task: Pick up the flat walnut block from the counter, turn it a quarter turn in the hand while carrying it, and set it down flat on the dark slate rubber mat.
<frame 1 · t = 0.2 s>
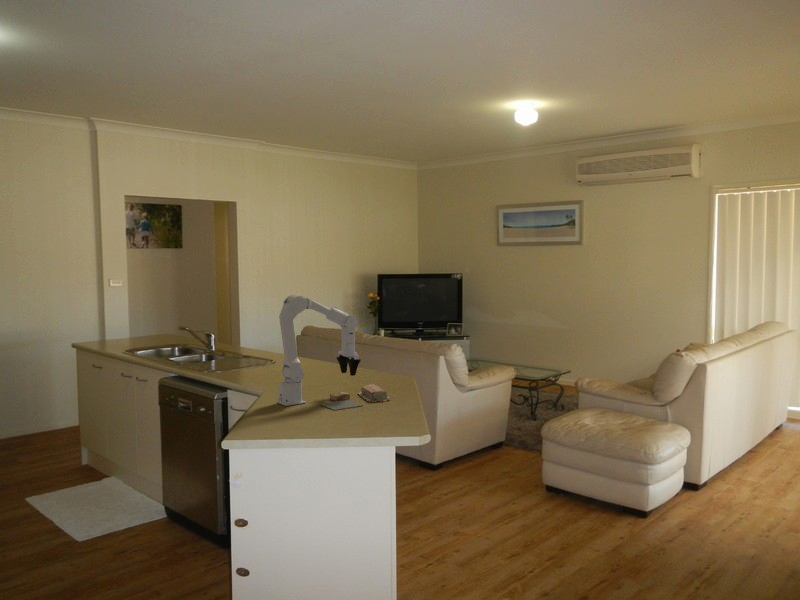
hand: (348, 374, 280), 9 cm above the counter, tool pointing down, fingers open, 7 cm apart
slate mat: (341, 405, 262), on the counter
walnut block: (339, 400, 274), on the counter
packaged product: (373, 398, 278), on the counter
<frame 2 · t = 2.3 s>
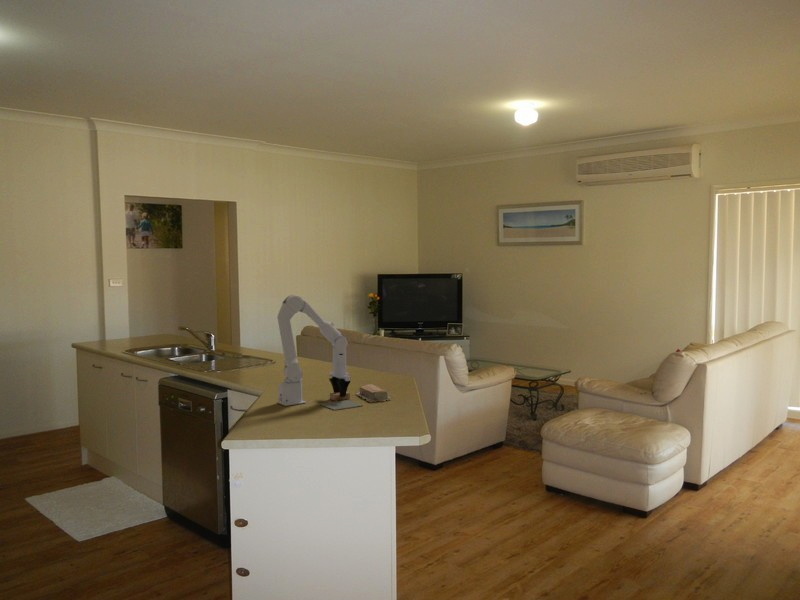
hand: (339, 395, 274), 2 cm above the counter, tool pointing down, fingers closed on walnut block, 4 cm apart
walnut block: (339, 399, 274), on the counter, touching gripper
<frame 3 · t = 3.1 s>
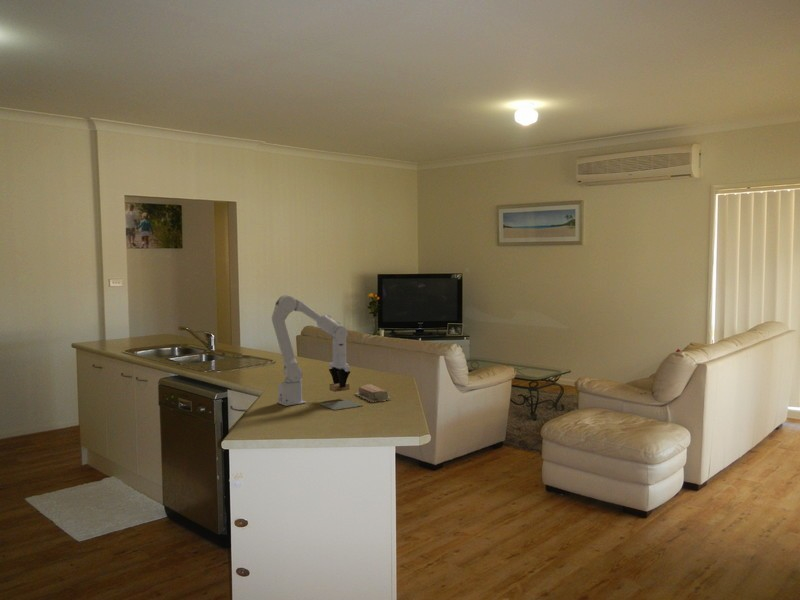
hand: (339, 386, 274), 5 cm above the counter, tool pointing down, fingers closed on walnut block, 4 cm apart
walnut block: (339, 389, 274), point 4 cm above the counter, touching gripper
everything else where it was.
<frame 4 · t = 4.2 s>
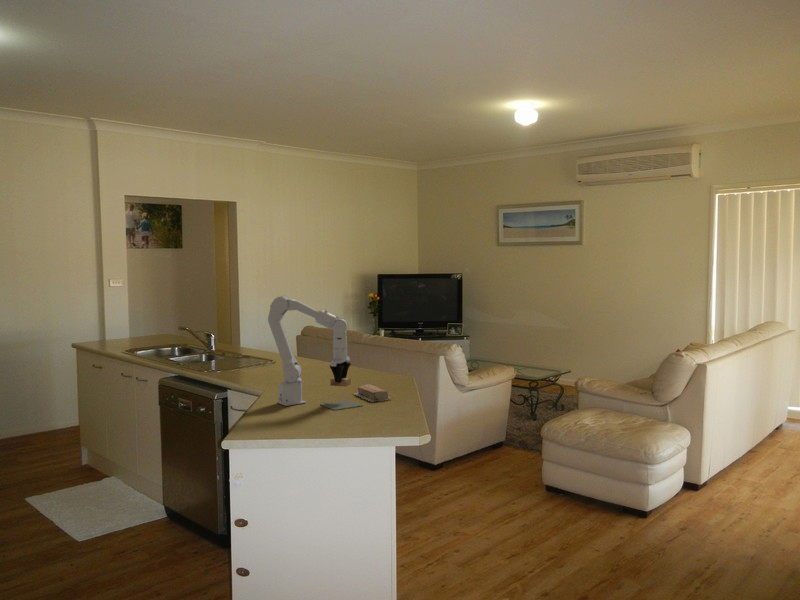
hand: (340, 381, 267), 9 cm above the counter, tool pointing down, fingers closed on walnut block, 4 cm apart
walnut block: (340, 384, 267), point 7 cm above the counter, touching gripper
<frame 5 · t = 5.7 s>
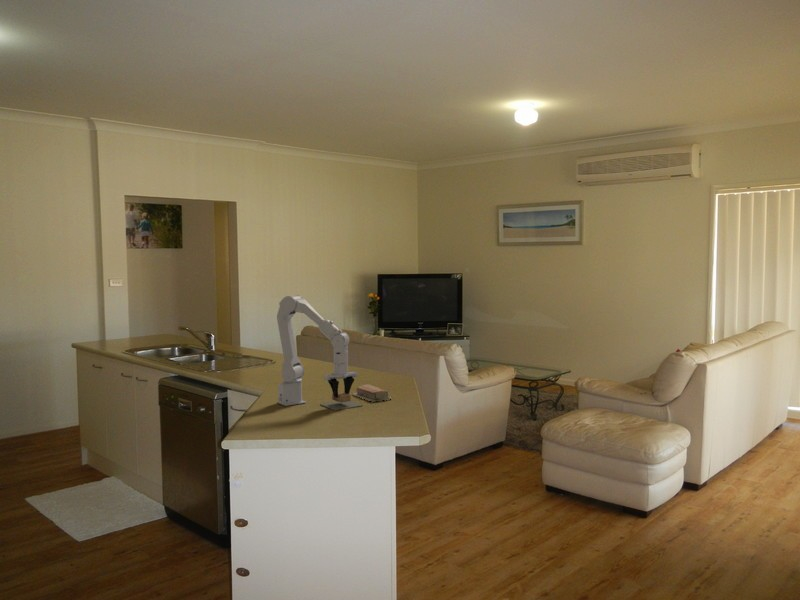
hand: (341, 396, 262), 4 cm above the counter, tool pointing down, fingers closed on walnut block, 4 cm apart
walnut block: (341, 400, 262), point 2 cm above the counter, touching gripper
when the fingers open (3 cm above the counter, at t = 6.6 s): walnut block drops 1 cm, resting on slate mat.
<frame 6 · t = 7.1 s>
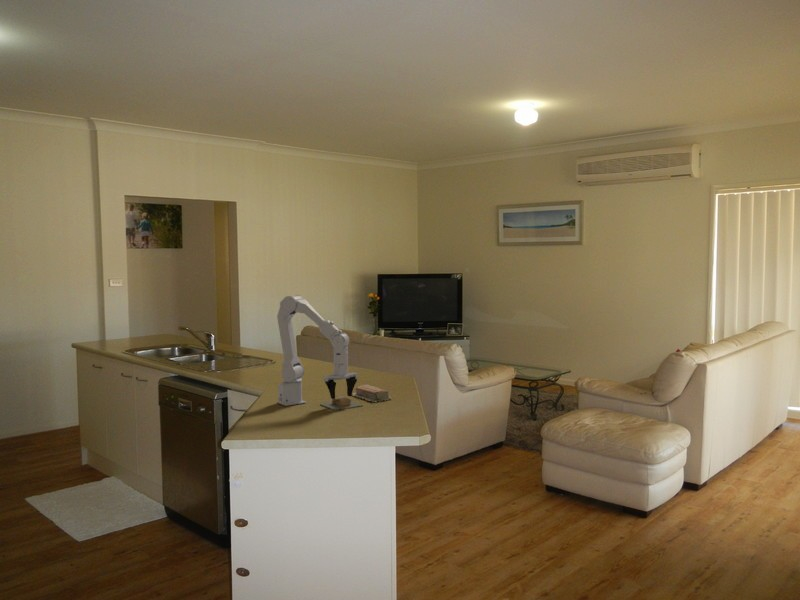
hand: (341, 397, 262), 3 cm above the counter, tool pointing down, fingers open, 7 cm apart
walnut block: (341, 404, 262), resting on slate mat
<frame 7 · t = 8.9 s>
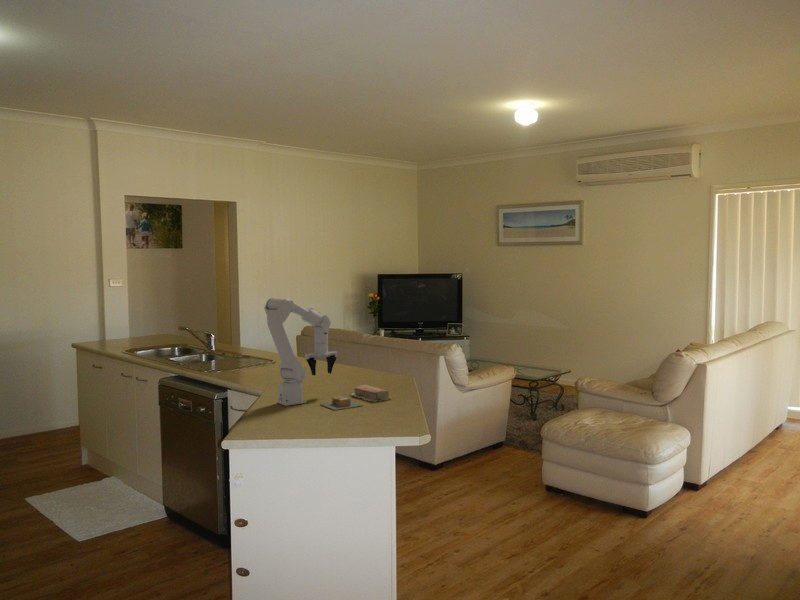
hand: (321, 374, 280), 9 cm above the counter, tool pointing down, fingers open, 7 cm apart
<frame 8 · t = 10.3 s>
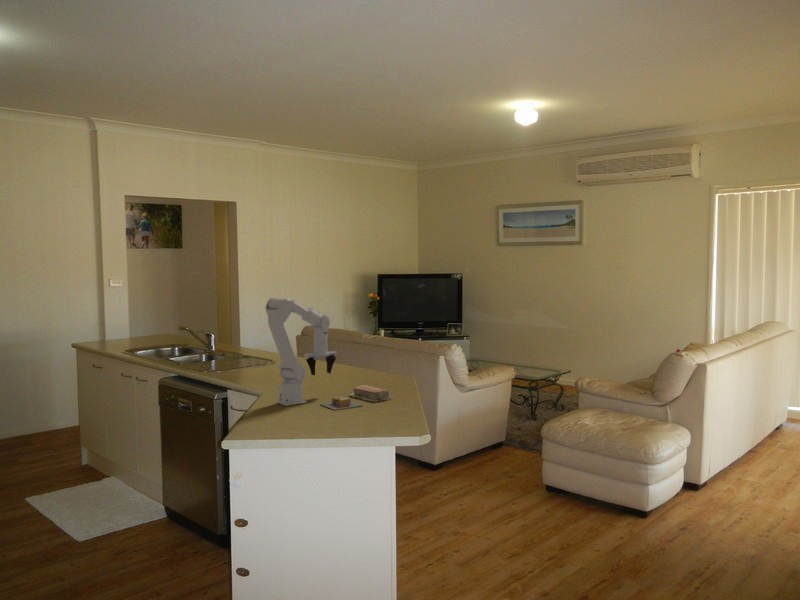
hand: (321, 374, 281), 9 cm above the counter, tool pointing down, fingers open, 7 cm apart
at the end: walnut block inside the target area on the slate mat (0.0 cm from its centre), point 0.4 cm above the slate mat's base; walnut block tilted 0°; the gripper is holding nothing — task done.
